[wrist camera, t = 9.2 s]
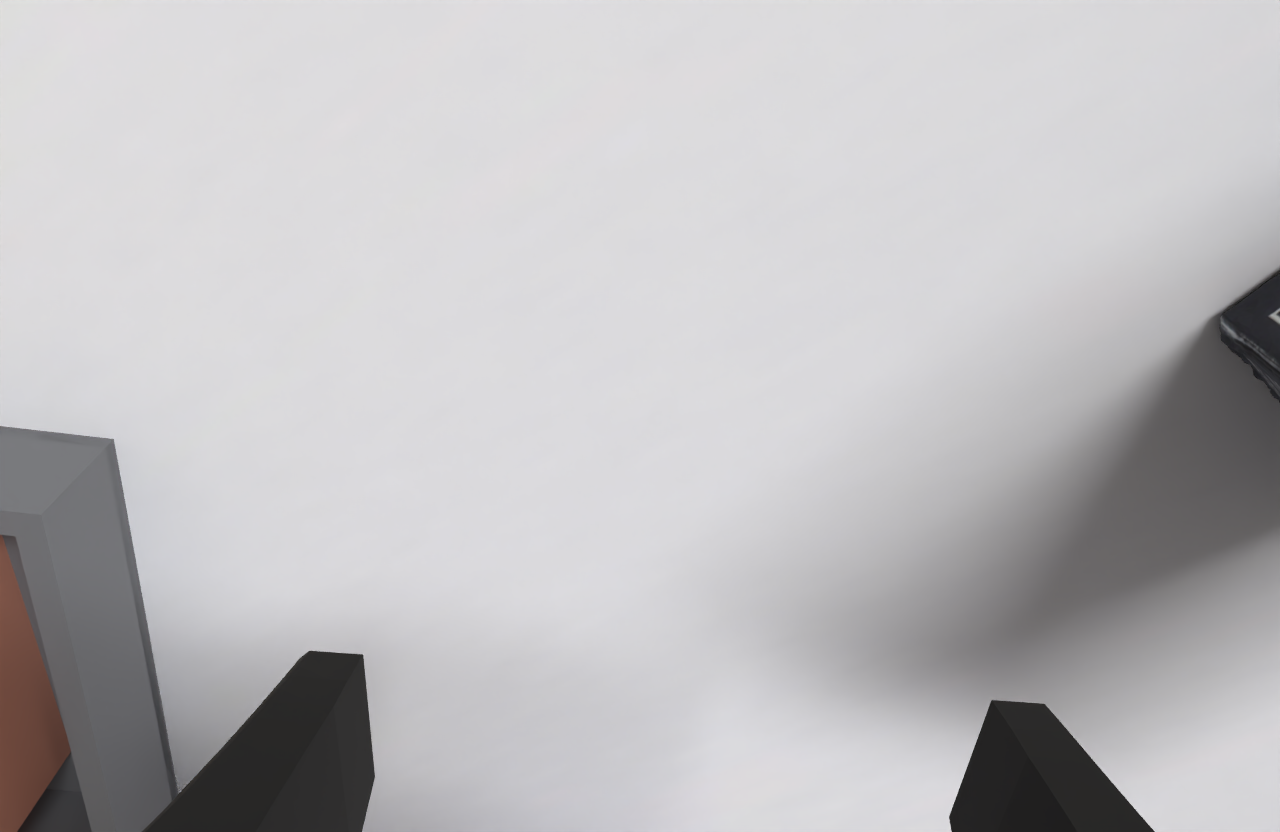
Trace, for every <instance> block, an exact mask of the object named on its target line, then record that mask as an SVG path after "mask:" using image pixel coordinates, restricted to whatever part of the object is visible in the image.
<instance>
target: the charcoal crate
mask: <svg viewBox="0 0 1280 832" xmlns="http://www.w3.org/2000/svg"><path fill="white" fill-rule="evenodd" d="M0 535H2V536H3V539H4V542H5V545H6V548H7V552H8V555H9V558H10V561H11V564H12V567H13V570H14V573H15V576H16V579H17V582H18V586H19V589H20V592H21V595H22V598H23V601H24V604H25V607H26V610H27V613H28V617H29V620H30V623H31V626H32V629H33V632H34V635H35V638H36V641H37V644H38V648H39V651H40V654H41V657H42V660H43V663H44V666H45V669H46V672H47V675H48V678H49V682H50V685H51V688H52V691H53V694H54V697H55V700H56V703H57V706H58V709H59V713H60V716H61V719H62V722H63V725H64V728H65V731H66V734H67V738H68V742H69V746H70V749H71V752H70V754H69V755H68V757H67V758H66V760H65V761H64V763H63V764H62V766H61V767H60V769H59V770H58V772H57V773H56V775H55V776H54V777H53V779H52V780H51V782H50V783H49V785H48V786H47V788H46V789H45V791H44V792H43V794H42V795H41V797H40V798H39V800H38V801H37V803H36V804H35V806H34V807H33V809H32V810H31V812H30V813H29V815H28V816H27V818H26V819H25V821H24V822H23V824H22V825H21V827H20V828H19V830H18V831H17V832H142V831H143V830H144V829H145V828H146V827H147V826H148V825H149V824H150V823H151V822H152V821H153V820H154V819H155V818H156V817H157V816H158V815H159V814H160V813H161V812H162V811H163V810H164V809H165V808H166V807H167V806H168V805H169V804H170V803H171V802H172V801H173V800H174V799H175V798H176V796H177V795H178V790H177V784H176V779H175V774H174V768H173V763H172V757H171V752H170V746H169V741H168V735H167V730H166V724H165V719H164V713H163V708H162V702H161V697H160V691H159V686H158V680H157V675H156V669H155V664H154V658H153V653H152V647H151V642H150V636H149V631H148V625H147V620H146V614H145V609H144V603H143V598H142V592H141V587H140V581H139V576H138V570H137V565H136V559H135V554H134V548H133V543H132V537H131V532H130V526H129V521H128V515H127V510H126V504H125V499H124V493H123V488H122V482H121V477H120V471H119V466H118V460H117V455H116V449H115V444H114V439H108V438H99V437H90V436H81V435H73V434H64V433H55V432H47V431H38V430H29V429H20V428H12V427H3V426H0Z"/></svg>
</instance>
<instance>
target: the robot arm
mask: <svg viewBox="0 0 1280 832" xmlns="http://www.w3.org/2000/svg"><path fill="white" fill-rule="evenodd" d="M374 778H375V773H374V763H373V753H372V742H371V732H370V721H369V711H368V701H367V690H366V680H365V669H364V659H363V655H360V654H346V653H332V652H318V651H309V652H307V653H306V654H305V655H303V656H302V657H301V658H300V659H299V660H298V661H297V662H296V664H295V665H294V666H293V667H292V668H291V670H290V671H289V672H288V673H287V674H286V676H285V677H284V678H283V679H282V680H281V681H280V683H279V684H278V685H277V686H276V687H275V688H274V690H273V691H272V692H271V693H270V694H269V695H268V697H267V698H266V699H265V700H264V701H263V702H262V704H261V705H260V706H259V707H258V708H257V709H256V710H255V712H254V713H253V714H252V715H251V716H250V717H249V718H248V720H247V721H246V722H245V723H244V724H243V725H242V726H241V727H240V729H239V730H238V731H237V732H236V733H235V734H234V735H233V736H232V737H231V739H230V740H229V741H228V742H227V743H226V744H225V745H224V746H223V748H222V749H221V750H220V751H219V752H218V753H217V754H216V755H215V756H214V757H213V758H212V759H211V760H210V761H209V763H208V764H207V765H206V766H205V767H204V768H203V769H202V770H201V771H200V772H199V773H198V774H197V775H196V776H195V777H194V778H193V779H192V781H191V782H190V783H189V784H188V785H187V786H186V787H185V788H184V789H183V790H182V791H181V792H180V793H179V794H178V795H177V796H176V798H175V799H174V800H173V801H172V802H171V803H170V804H169V805H168V806H167V807H166V808H165V809H164V810H163V811H162V812H161V813H160V814H159V815H158V816H157V817H156V818H155V819H154V820H153V821H152V822H151V823H150V824H149V825H148V826H147V827H146V828H145V829H144V830H143V831H142V832H362V829H363V825H364V820H365V816H366V812H367V808H368V803H369V799H370V795H371V791H372V786H373V782H374ZM949 819H950V824H951V830H952V832H1154V830H1153V829H1152V828H1151V827H1150V826H1149V825H1148V824H1147V823H1146V821H1145V820H1144V819H1143V818H1142V817H1141V816H1140V815H1139V813H1138V812H1137V811H1136V810H1135V809H1134V808H1133V806H1132V805H1131V804H1130V803H1129V802H1128V801H1127V799H1126V798H1125V797H1124V796H1123V795H1122V794H1121V793H1120V791H1119V790H1118V789H1117V788H1116V787H1115V786H1114V784H1113V783H1112V782H1111V781H1110V780H1109V779H1108V777H1107V776H1106V775H1105V774H1104V773H1103V772H1102V770H1101V769H1100V768H1099V767H1098V766H1097V765H1096V763H1095V762H1094V761H1093V760H1092V759H1091V757H1090V756H1089V755H1088V754H1087V753H1086V752H1085V750H1084V749H1083V748H1082V747H1081V746H1080V745H1079V743H1078V742H1077V741H1076V740H1075V739H1074V738H1073V736H1072V735H1071V734H1070V733H1069V732H1068V730H1067V729H1066V728H1065V727H1064V726H1063V725H1062V723H1061V722H1060V721H1059V720H1058V719H1057V718H1056V717H1055V715H1054V714H1053V713H1052V712H1051V711H1050V710H1049V709H1048V707H1047V706H1046V705H1045V704H1038V703H1024V702H1010V701H996V700H992V701H991V703H990V706H989V709H988V712H987V714H986V717H985V720H984V723H983V725H982V728H981V731H980V734H979V736H978V739H977V742H976V745H975V747H974V750H973V753H972V756H971V758H970V761H969V764H968V767H967V769H966V772H965V775H964V778H963V780H962V783H961V786H960V789H959V791H958V794H957V797H956V800H955V802H954V805H953V808H952V811H951V813H950V816H949Z"/></svg>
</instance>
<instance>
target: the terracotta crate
mask: <svg viewBox="0 0 1280 832" xmlns="http://www.w3.org/2000/svg"><path fill="white" fill-rule="evenodd" d="M70 752H71V749H70V746H69V742H68V738H67V734H66V731H65V728H64V725H63V722H62V719H61V716H60V713H59V709H58V706H57V703H56V700H55V697H54V694H53V691H52V688H51V685H50V682H49V678H48V675H47V672H46V669H45V666H44V663H43V660H42V657H41V654H40V651H39V648H38V644H37V641H36V638H35V635H34V632H33V629H32V626H31V623H30V620H29V617H28V613H27V610H26V607H25V604H24V601H23V598H22V595H21V592H20V589H19V586H18V582H17V579H16V576H15V573H14V570H13V567H12V564H11V561H10V558H9V555H8V552H7V548H6V545H5V542H4V539H3V536H2V535H0V832H17V831H18V830H19V828H20V827H21V825H22V824H23V822H24V821H25V819H26V818H27V816H28V815H29V813H30V812H31V810H32V809H33V807H34V806H35V804H36V803H37V801H38V800H39V798H40V797H41V795H42V794H43V792H44V791H45V789H46V788H47V786H48V785H49V783H50V782H51V780H52V779H53V777H54V776H55V775H56V773H57V772H58V770H59V769H60V767H61V766H62V764H63V763H64V761H65V760H66V758H67V757H68V755H69V754H70Z"/></svg>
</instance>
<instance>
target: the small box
mask: <svg viewBox="0 0 1280 832" xmlns="http://www.w3.org/2000/svg"><path fill="white" fill-rule="evenodd" d="M1220 332H1221V341H1223V342H1224V343H1225V344H1226V345H1227V346H1228V348H1230V350H1231V351H1232V352H1234V353H1236V354H1237V355H1238V356H1239V357H1241V358H1242V360H1243V361H1244V362H1245V363H1247V364H1250V365H1251V366H1252V368H1253V371H1254V376H1255V377H1256V378H1258V379H1260V380H1263V381H1264V382H1265V383H1266V385H1267V387H1268V388H1269V389H1270V392H1271V394H1272V396H1273V397H1274V398H1276V399H1279V402H1280V273H1279V274H1278V275H1277V276H1275V277H1274V278H1272V279H1270V280H1269V281H1267V282H1266V283H1265V284H1263V285H1262V286H1261V287H1259V288H1258V289H1257V290H1256V291H1254V292H1253V293H1251V294H1250V295H1249V296H1247V297H1246V298H1245V299H1243V300H1242V301H1240V302H1239V303H1238V304H1236V305H1235V306H1234V307H1232V308H1231V309H1229V310H1228V311H1226V312H1225V313H1224V314H1223V315H1222V316H1221V322H1220Z"/></svg>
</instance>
